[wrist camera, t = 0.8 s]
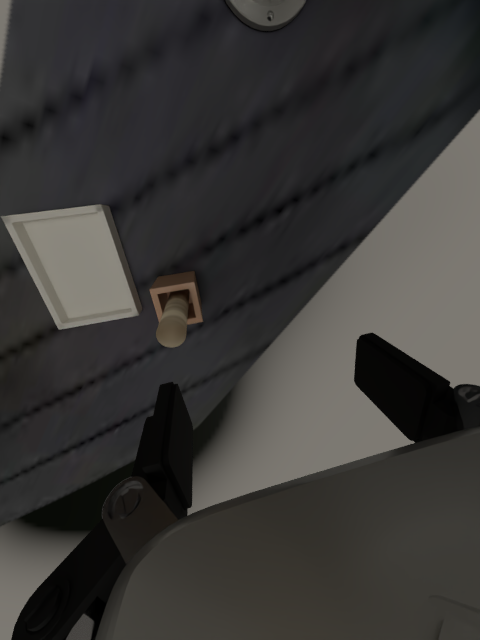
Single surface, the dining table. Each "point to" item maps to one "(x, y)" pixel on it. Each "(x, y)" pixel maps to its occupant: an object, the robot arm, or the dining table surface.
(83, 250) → the plastic tray
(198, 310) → the terracotta cup
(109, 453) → the dining table surface
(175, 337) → the beech dowel
